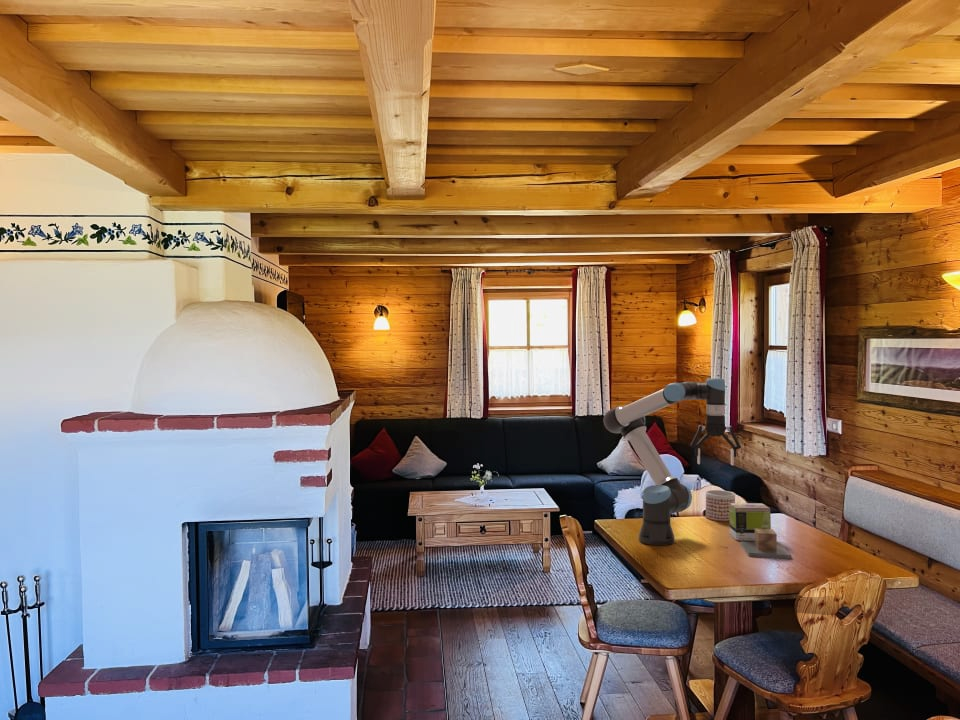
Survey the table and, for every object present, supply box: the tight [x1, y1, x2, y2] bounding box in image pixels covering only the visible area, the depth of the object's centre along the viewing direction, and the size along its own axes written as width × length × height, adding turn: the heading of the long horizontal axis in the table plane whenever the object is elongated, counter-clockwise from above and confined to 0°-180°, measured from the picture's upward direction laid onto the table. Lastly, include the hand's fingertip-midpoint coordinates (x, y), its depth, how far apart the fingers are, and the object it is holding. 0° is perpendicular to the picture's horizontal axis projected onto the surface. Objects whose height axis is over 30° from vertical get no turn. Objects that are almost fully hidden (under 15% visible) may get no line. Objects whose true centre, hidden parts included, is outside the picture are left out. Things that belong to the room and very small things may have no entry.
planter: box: [705, 489, 736, 523], centre depth 324 cm, size 14×14×13 cm
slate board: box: [740, 541, 792, 560], centre depth 269 cm, size 16×16×2 cm
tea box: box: [729, 502, 772, 542], centre depth 289 cm, size 15×10×15 cm
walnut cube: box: [754, 528, 778, 551], centre depth 269 cm, size 7×7×7 cm
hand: (715, 464), depth 277 cm, fingers open, 13 cm apart
